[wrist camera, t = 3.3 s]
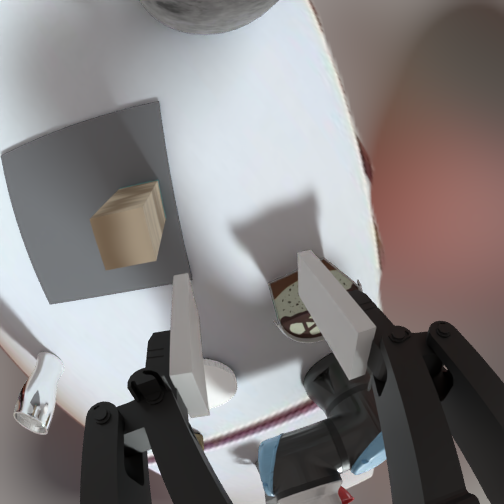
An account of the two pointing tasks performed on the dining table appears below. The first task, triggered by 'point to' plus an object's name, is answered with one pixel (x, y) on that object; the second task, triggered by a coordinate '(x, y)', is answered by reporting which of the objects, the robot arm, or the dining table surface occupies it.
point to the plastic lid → (219, 383)
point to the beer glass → (39, 394)
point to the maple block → (130, 226)
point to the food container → (301, 305)
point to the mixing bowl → (344, 496)
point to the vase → (206, 14)
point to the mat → (91, 202)
